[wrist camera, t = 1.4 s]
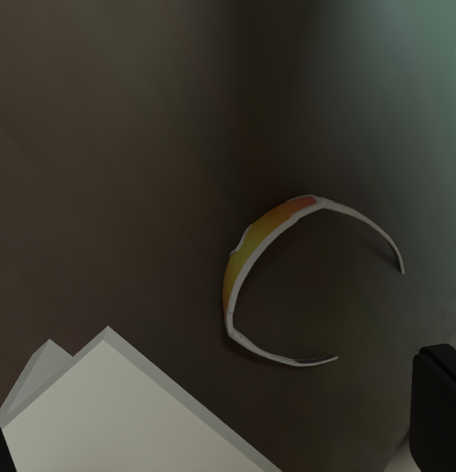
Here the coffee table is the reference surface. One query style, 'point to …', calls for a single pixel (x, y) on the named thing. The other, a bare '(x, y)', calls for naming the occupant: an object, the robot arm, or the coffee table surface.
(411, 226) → the coffee table surface
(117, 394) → the overhang dock
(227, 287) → the sunglasses
